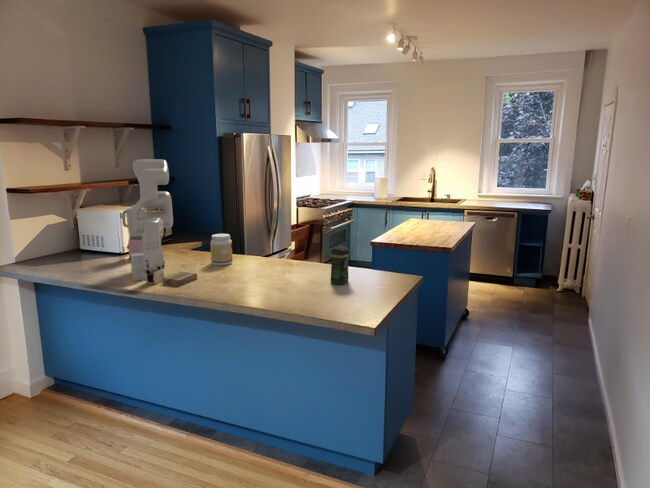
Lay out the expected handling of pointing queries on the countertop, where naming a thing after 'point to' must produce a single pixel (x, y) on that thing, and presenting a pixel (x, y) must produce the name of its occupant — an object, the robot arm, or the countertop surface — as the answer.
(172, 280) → the walnut board
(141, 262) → the small box
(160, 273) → the maple cube
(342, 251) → the coffee jar
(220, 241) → the supplement tub
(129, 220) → the blender
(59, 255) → the countertop surface
